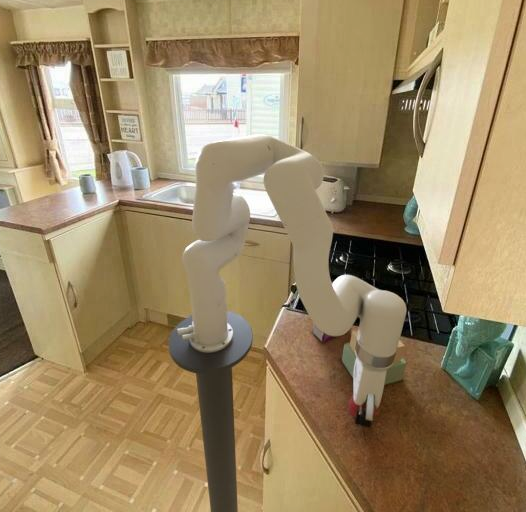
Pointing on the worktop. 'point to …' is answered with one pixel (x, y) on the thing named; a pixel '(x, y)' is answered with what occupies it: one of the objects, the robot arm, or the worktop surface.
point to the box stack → (392, 373)
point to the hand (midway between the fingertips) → (362, 409)
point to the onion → (357, 407)
